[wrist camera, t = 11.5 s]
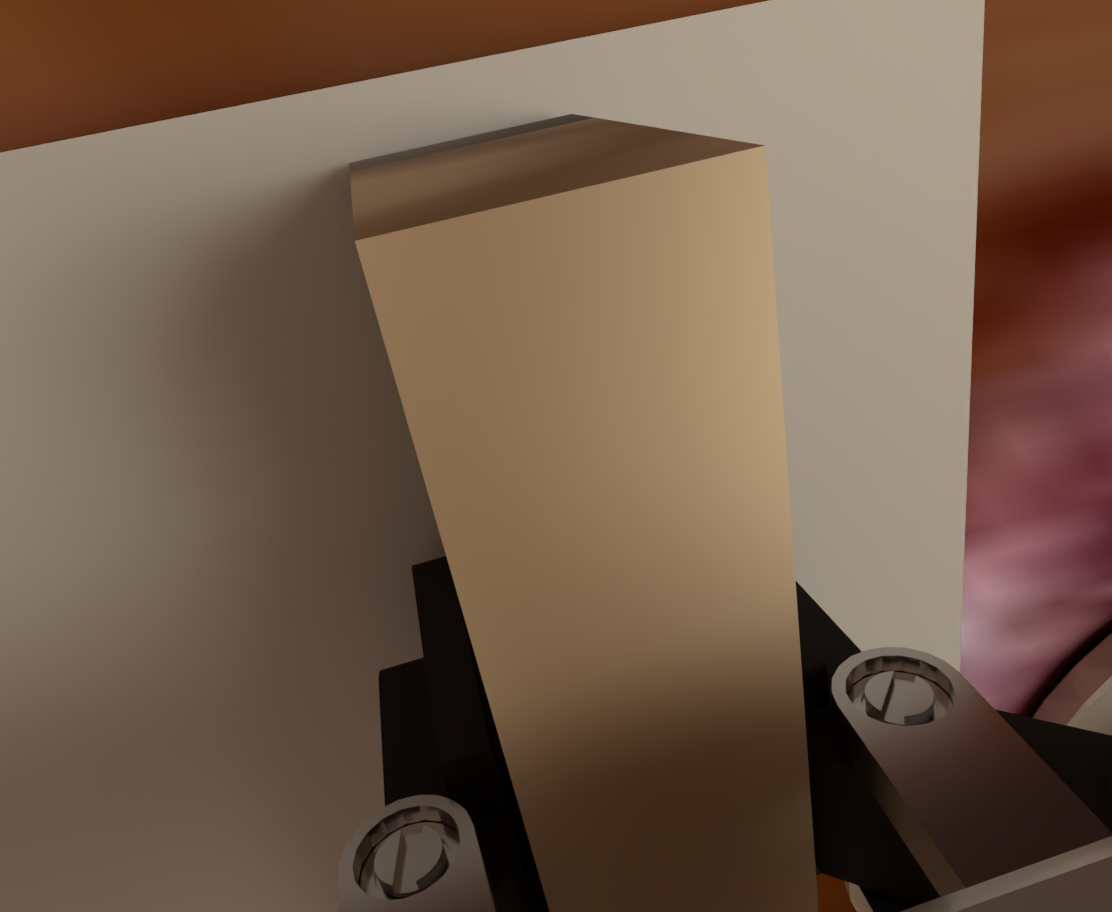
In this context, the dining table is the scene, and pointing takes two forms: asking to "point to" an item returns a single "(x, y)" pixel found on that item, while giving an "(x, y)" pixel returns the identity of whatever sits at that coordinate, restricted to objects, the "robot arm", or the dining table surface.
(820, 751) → the robot arm
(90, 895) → the bench board
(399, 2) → the dining table surface
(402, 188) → the tan long block
